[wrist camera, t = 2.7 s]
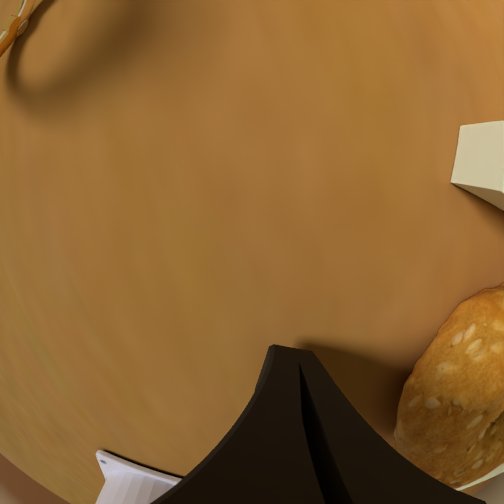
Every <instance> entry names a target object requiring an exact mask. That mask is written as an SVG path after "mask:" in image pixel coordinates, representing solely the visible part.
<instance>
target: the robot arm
mask: <svg viewBox="0 0 504 504" xmlns="http://www.w3.org/2000/svg"><path fill="white" fill-rule="evenodd" d="M96 457H97V459H98V462H99V465H100V467H101V470H102V472H103V474H104V477H105V479H106V482H105V484H104V486H103V488H102V490H101V493H100V495H99V497H98V499H97V501H96V503H95V504H486V502H485V501H482V500H480V499H477V498H475V497H472V496H470V495H467V494H465V493H463V492H460V491H458V490H456V489H453V488H451V487H450V486H448V485H446V484H444V483H442V482H440V481H439V480H437V479H435V478H433V477H432V476H430V475H429V474H427V473H426V472H424V471H422V470H421V469H419V468H418V467H417V466H415V465H414V464H413V463H411V462H410V461H409V460H407V459H406V458H405V457H403V456H402V455H401V454H400V453H398V452H397V451H396V450H395V449H394V448H392V447H391V446H390V445H389V444H388V443H387V442H386V441H385V440H384V439H383V438H382V437H381V436H380V435H379V434H377V433H376V432H375V431H374V430H373V429H372V427H371V426H370V425H369V424H368V423H367V422H366V421H365V420H364V419H363V418H362V416H361V415H360V414H359V413H358V412H357V411H356V410H355V408H354V407H353V406H352V405H351V403H350V402H349V401H348V400H347V398H346V397H345V396H344V394H343V393H342V392H341V391H340V389H339V388H338V386H337V385H336V384H335V382H334V381H333V380H332V378H331V377H330V375H329V374H328V372H327V371H326V370H325V368H324V367H323V365H322V364H321V362H320V361H319V360H318V358H317V357H316V355H315V354H314V353H313V351H307V350H301V349H296V348H290V347H285V346H280V345H275V344H273V345H271V346H269V349H268V352H267V355H266V358H265V361H264V364H263V367H262V370H261V373H260V376H259V379H258V382H257V385H256V388H255V393H254V394H253V396H252V398H251V400H250V401H249V403H248V405H247V406H246V408H245V409H244V411H243V412H242V414H241V415H240V417H239V418H238V420H237V421H236V422H235V424H234V425H233V426H232V428H231V429H230V430H229V432H228V433H227V434H226V435H225V436H224V438H223V439H222V440H221V441H220V442H219V443H218V445H217V446H216V447H215V448H214V449H213V450H212V451H211V452H210V453H209V454H208V455H207V457H206V458H205V459H204V460H203V461H201V462H200V463H199V464H198V465H197V466H196V467H195V468H194V469H193V470H192V471H191V472H190V473H188V474H187V475H186V476H185V477H184V478H183V479H181V478H177V477H174V476H170V475H167V474H163V473H160V472H157V471H154V470H151V469H148V468H145V467H142V466H139V465H137V464H134V463H131V462H129V461H126V460H124V459H121V458H119V457H116V456H114V455H111V454H109V453H107V452H105V451H102V450H98V451H97V453H96Z"/></svg>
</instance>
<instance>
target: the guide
mask: <svg viewBox="0 0 504 504" xmlns="http://www.w3.org/2000/svg"><path fill="white" fill-rule="evenodd" d="M451 183H453V184H455V185H457V186H459V187H461V188H463V189H465V190H467V191H469V192H471V193H473V194H474V195H476V196H478V197H480V198H482V199H484V200H486V201H487V202H489V203H491V204H493V205H494V206H496V207H498V208H499V209H501V210H503V211H504V121H495V122H486V123H478V124H471V125H464V126H460V132H459V139H458V146H457V152H456V157H455V163H454V168H453V173H452V178H451ZM502 472H504V463H502V464H501V465H500V466H498V467H497V468H496V469H494V470H493V471H491V472H490V473H489V474H487V475H485V476H484V477H482V478H480V479H477V480H476V481H474V482H472V483H470V484H468V485H465V486H462V487H460V488H457V489H456V490H458V491H459V490H462V489H464V488H467V487H470V486H472V485H475V484H477V483H480V482H482V481H485V480H487V479H489V478H492V477H494V476H496V475H498V474H500V473H502Z"/></svg>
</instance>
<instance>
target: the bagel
mask: <svg viewBox="0 0 504 504" xmlns="http://www.w3.org/2000/svg"><path fill="white" fill-rule="evenodd" d="M394 437H395V439H396V443H395V450H396V451H397V452H398V453H400V454H401V455H402V456H403V457H405V458H406V459H407V460H409V461H410V462H411V463H413V464H414V465H415V466H417V467H418V468H419V469H421V470H422V471H424V472H426V473H427V474H429V475H430V476H432V477H433V478H435V479H437V480H439V481H440V482H442V483H444V484H446V485H448V486H450V487H451V488H453V489H457V488H460V487H462V486H465V485H468V484H470V483H472V482H474V481H476V480H477V479H480V478H482V477H484V476H485V475H487V474H489V473H490V472H491V471H493V470H494V469H496V468H497V467H498V466H500V465H501V464H502V463H504V283H502V284H501V285H500V286H499V287H496V288H493V289H483V290H481V291H480V292H478V293H477V294H476V295H474V296H472V297H471V298H469V299H467V300H465V301H463V302H461V303H460V304H459V305H458V306H457V307H456V309H455V310H454V311H453V312H452V313H451V315H450V317H449V319H448V320H447V321H446V322H445V323H444V324H443V325H442V326H441V328H440V329H439V330H438V332H437V336H436V337H435V338H434V339H433V341H432V342H431V344H430V346H428V348H427V349H426V350H425V351H424V353H423V355H422V356H421V358H419V359H418V360H417V362H416V364H415V366H414V368H413V372H412V374H410V375H409V377H408V379H407V381H406V382H405V384H404V387H403V392H402V394H401V398H400V401H399V405H398V412H397V425H396V428H395V431H394Z"/></svg>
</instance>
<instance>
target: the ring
mask: <svg viewBox="0 0 504 504" xmlns="http://www.w3.org/2000/svg"><path fill="white" fill-rule="evenodd" d="M35 2H36V0H20V1H19V4H18V6H17V8H16V11H15V13H14V15H11V16H9V17H8V19H7V20H6V21H5V23H4V25H3V31H4V32H3V33H2V34H1V36H0V57H1V56H2V55H3V53H4V52H5V51H6V50H7V49H8V48H9V46H10V45H11V44H12V42H13V41H14V40H15V38H16V37H17V35H18V36H20V35H21V34H22V33H23V32H24V31H25V30H26V28H27V26H28V23H29V20H27V19H28V17H29V15H30V13H31V11H32V9H33V7H34V5H35Z"/></svg>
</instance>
